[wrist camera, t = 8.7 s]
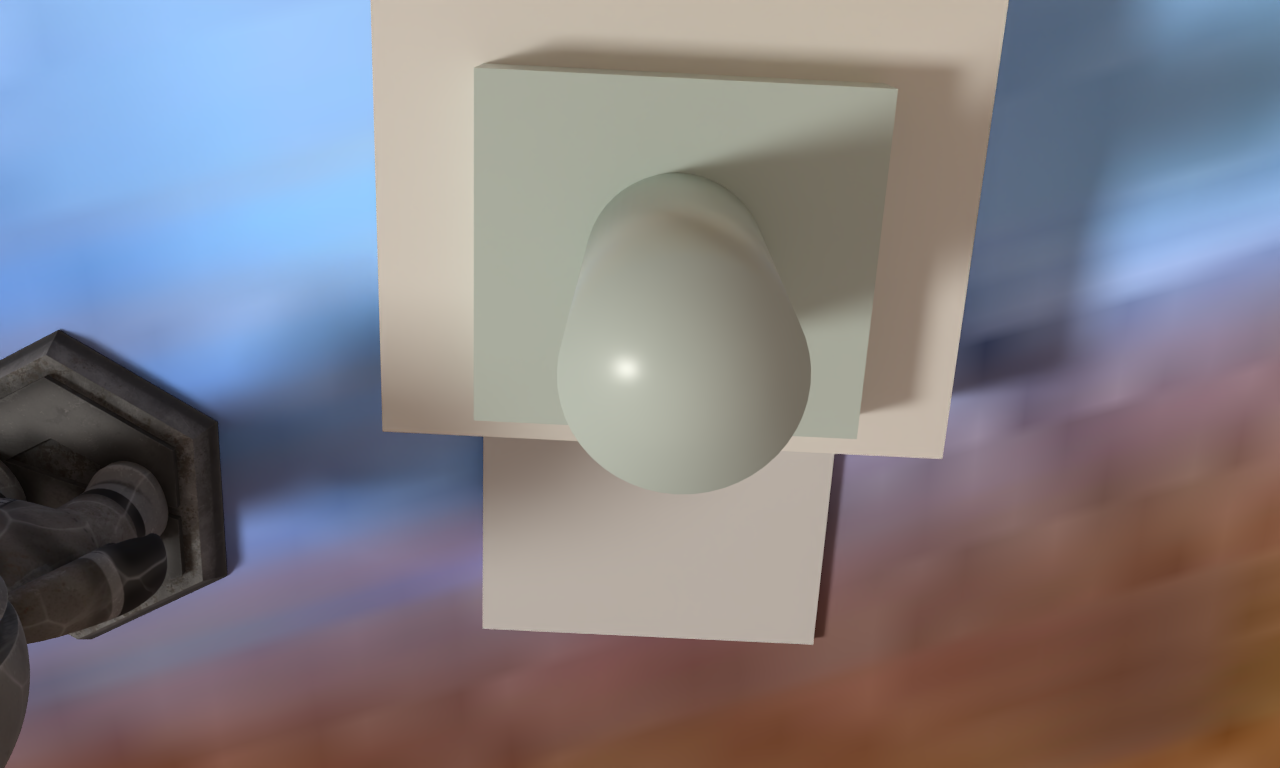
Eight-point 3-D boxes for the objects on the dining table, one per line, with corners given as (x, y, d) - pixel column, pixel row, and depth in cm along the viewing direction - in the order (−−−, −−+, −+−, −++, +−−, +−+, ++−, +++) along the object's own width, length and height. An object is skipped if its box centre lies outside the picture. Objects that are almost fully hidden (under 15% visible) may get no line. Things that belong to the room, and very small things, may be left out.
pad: (485, 391, 33) (483, 395, 32) (837, 408, 33) (839, 412, 32) (484, 623, 35) (482, 628, 35) (811, 639, 35) (813, 644, 35)
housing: (400, -407, 26) (355, -476, 22) (1012, -375, 26) (1074, -439, 22) (414, 379, 32) (381, 433, 29) (908, 404, 32) (943, 461, 29)
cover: (483, 63, 26) (392, 104, 17) (884, 83, 26) (1007, 135, 17) (482, 398, 28) (403, 589, 19) (846, 416, 28) (935, 615, 19)
